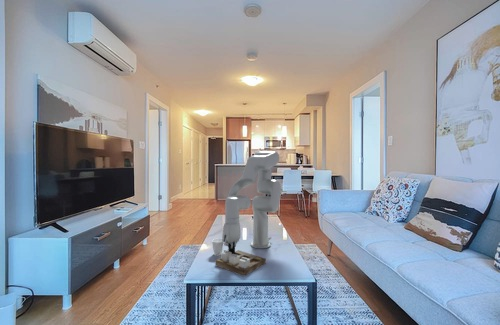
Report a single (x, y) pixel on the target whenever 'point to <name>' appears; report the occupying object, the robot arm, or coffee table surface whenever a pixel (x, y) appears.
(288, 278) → the coffee table surface
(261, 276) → the coffee table surface
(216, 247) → the cup
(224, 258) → the tab
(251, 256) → the switch board
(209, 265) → the coffee table surface
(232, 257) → the tab middle
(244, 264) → the tab
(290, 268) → the coffee table surface
